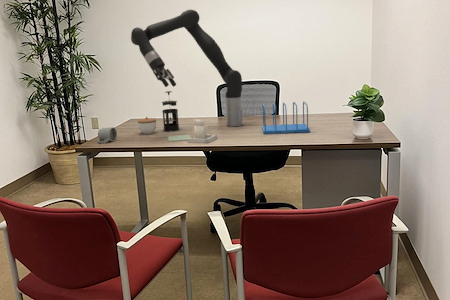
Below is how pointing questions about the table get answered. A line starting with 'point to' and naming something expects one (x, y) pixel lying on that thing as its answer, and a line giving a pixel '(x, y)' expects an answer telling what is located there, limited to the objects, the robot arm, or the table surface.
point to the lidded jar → (147, 125)
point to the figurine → (200, 129)
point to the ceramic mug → (107, 135)
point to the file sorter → (286, 128)
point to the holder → (207, 140)
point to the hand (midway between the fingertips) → (171, 85)
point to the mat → (178, 138)
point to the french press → (174, 125)
